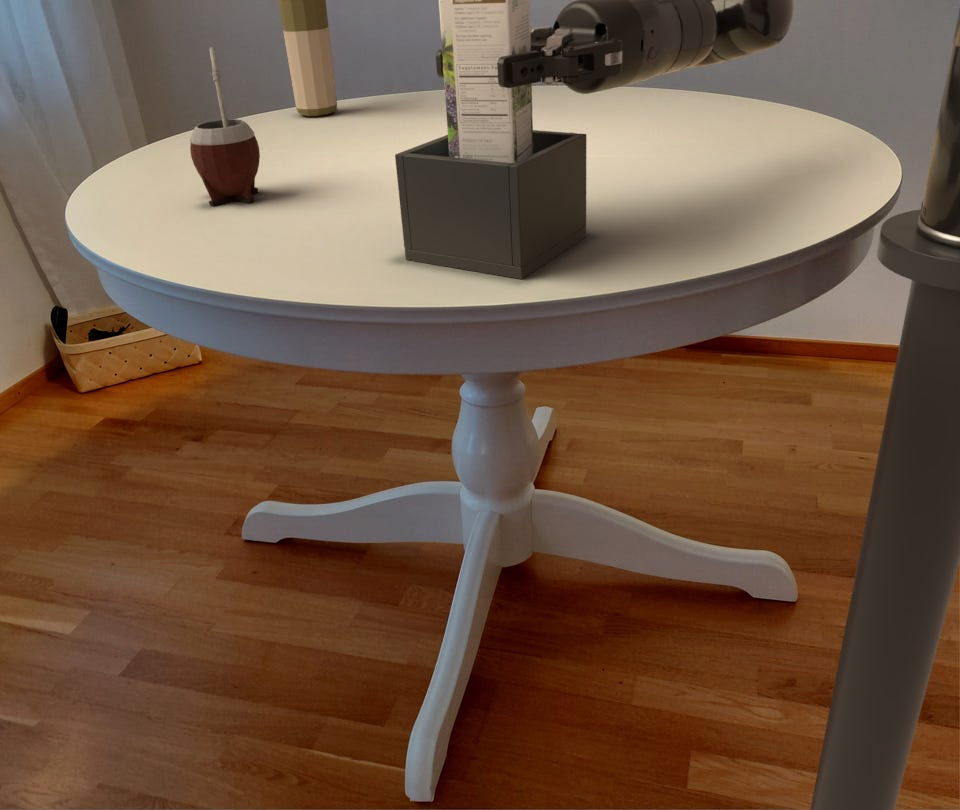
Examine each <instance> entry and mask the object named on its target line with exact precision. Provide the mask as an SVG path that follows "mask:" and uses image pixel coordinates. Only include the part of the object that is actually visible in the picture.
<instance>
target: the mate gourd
mask: <svg viewBox="0 0 960 810" xmlns="http://www.w3.org/2000/svg"><path fill="white" fill-rule="evenodd" d="M209 54H210V61H211V68H212V72H211V74H212V75H211V76H212V80H213V82H214V84H215V89H216V94H217V100H218V105H219V111H220V115H221V119H216V120H211V121H205V122H201V123H199V124H196V126H195V127H194V128H193V130H192V133H191V135H190V139H189V142H190V148H189V149H190V151H189V152H190V159H191V160H192V163H193V165H194V168H195V170H196V172H197V173H198V175H199V177H200V178H201V180H202V183H203V185H204V187H205V189H206V191H207V193H208V195H209V197H210V199H211V200H209V201H208V204H209V206H210V207H217V206H219V205H222V204H226V203H229V202H232V201H236V202H240V203H245V204H251V203H255V197H254V196H252V195H255V194H258V193H259V188H258V187H256V185H255V184H256V183H255V182H256V177H257V174H258V171H259V166H260V157H261V156H260V155H261V154H260V147H259V143H258V140H257V138H256V135H255V131H254V130H253V129H252V128H251V126H250V125H249V123H248V122H246V121H244V120H243V119H238V118H237V119H236V118H228V114H227V109H226V105H225V99H224V94H223V93H224V92H223V88H222V82H221V81H222V76H221V72H220V71H219V66H218V61H217V54H216V49H215V47H214V46H210V47H209Z"/></svg>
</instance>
